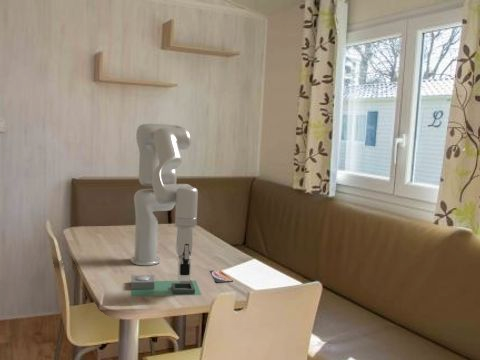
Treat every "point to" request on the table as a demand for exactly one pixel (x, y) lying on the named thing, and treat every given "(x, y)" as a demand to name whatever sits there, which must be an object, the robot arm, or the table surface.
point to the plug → (180, 277)
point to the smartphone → (220, 277)
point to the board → (162, 287)
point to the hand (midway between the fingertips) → (184, 272)
